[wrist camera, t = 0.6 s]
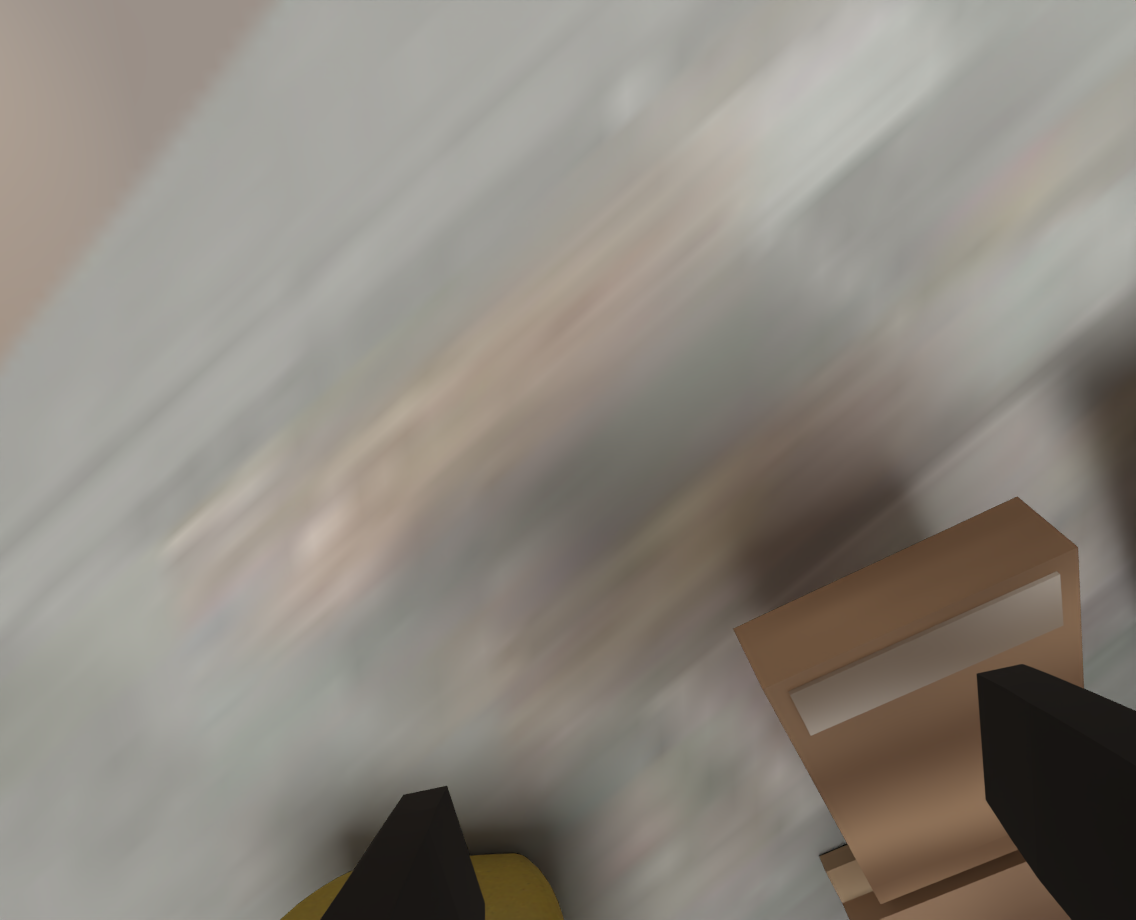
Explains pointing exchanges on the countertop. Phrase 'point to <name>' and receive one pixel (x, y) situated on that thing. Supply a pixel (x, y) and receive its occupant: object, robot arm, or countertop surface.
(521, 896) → the flower pot
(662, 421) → the countertop surface
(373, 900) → the robot arm
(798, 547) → the countertop surface
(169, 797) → the countertop surface
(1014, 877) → the laid floor
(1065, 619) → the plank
